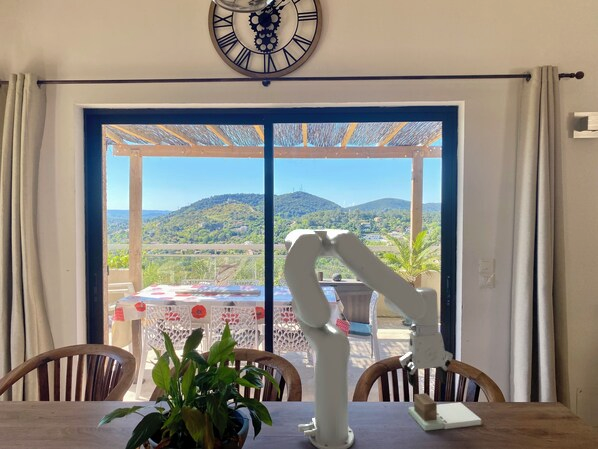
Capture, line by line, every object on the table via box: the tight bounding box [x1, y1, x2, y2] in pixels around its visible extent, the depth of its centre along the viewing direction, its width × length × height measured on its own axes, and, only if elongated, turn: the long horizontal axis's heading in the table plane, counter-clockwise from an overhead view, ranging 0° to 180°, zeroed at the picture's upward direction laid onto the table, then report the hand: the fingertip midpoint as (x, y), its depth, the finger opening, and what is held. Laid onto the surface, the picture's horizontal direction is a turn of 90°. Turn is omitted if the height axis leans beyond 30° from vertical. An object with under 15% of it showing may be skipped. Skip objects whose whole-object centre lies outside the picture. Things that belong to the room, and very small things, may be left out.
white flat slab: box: [437, 402, 482, 430], centre depth 106 cm, size 12×10×2 cm
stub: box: [407, 393, 445, 432], centre depth 105 cm, size 6×10×6 cm, turn 10°
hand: (427, 383), depth 105 cm, fingers open, 9 cm apart
